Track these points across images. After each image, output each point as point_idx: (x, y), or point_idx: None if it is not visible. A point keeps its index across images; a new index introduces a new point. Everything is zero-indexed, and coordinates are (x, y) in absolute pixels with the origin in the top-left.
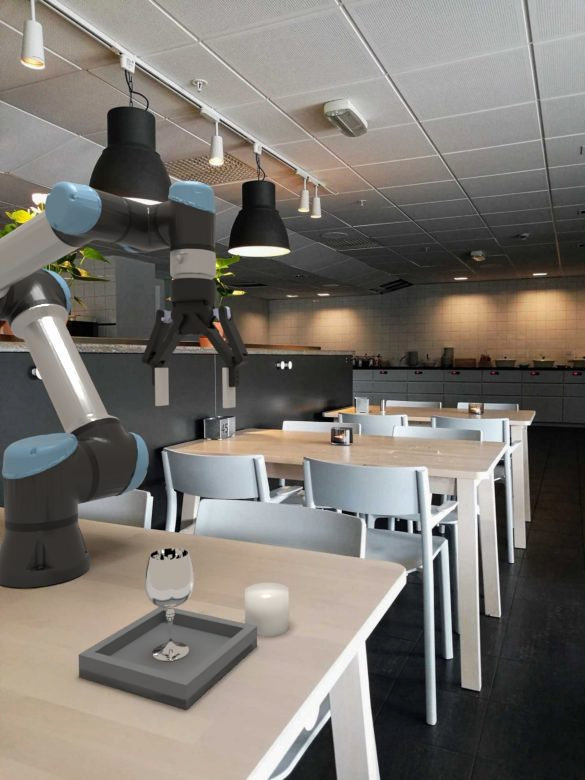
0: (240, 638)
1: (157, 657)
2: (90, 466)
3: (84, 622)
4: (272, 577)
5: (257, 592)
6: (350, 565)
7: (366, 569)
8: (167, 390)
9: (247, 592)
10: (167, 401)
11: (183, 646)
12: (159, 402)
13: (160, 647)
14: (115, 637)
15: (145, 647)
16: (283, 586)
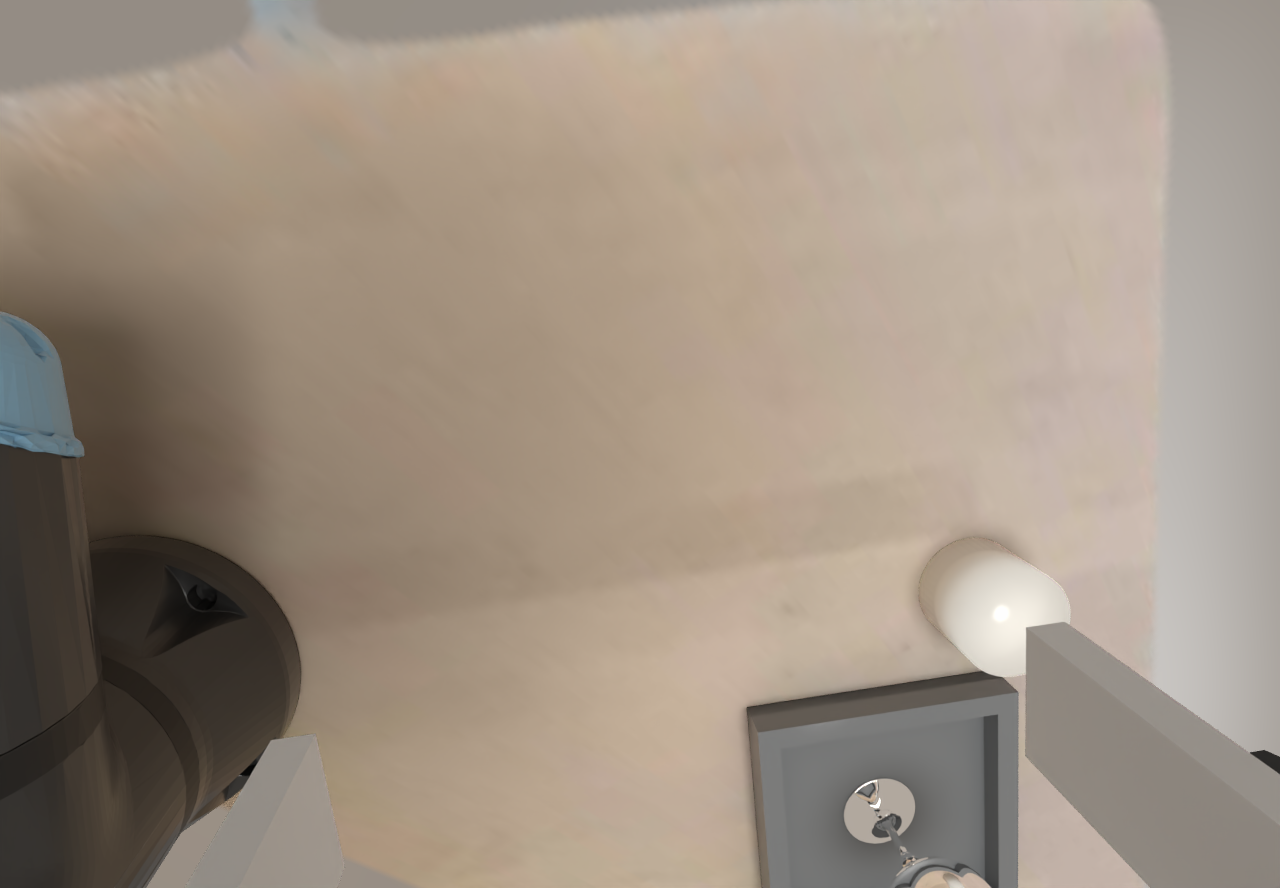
0: (1014, 750)
1: (875, 842)
2: (45, 779)
3: (581, 796)
4: (821, 315)
5: (999, 645)
6: (1002, 72)
7: (1062, 82)
8: (270, 854)
9: (977, 659)
10: (307, 772)
11: (895, 792)
12: (334, 882)
13: (859, 821)
14: (784, 883)
15: (822, 825)
16: (1041, 578)
